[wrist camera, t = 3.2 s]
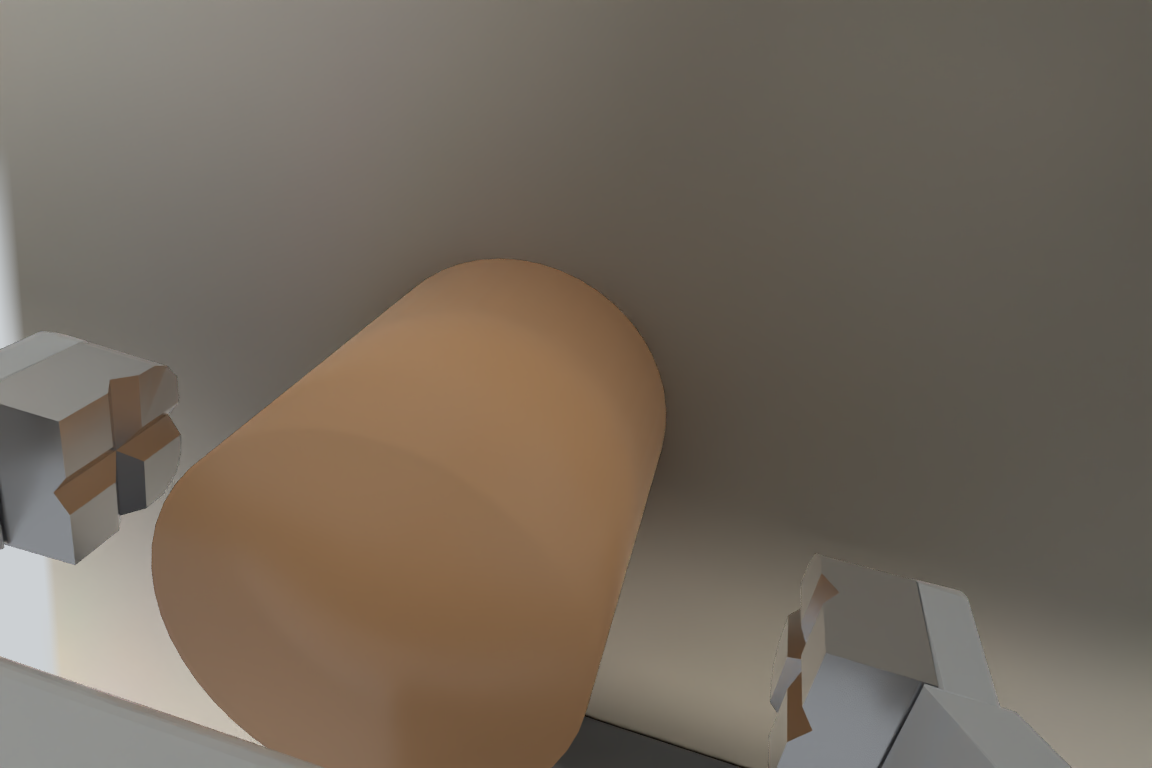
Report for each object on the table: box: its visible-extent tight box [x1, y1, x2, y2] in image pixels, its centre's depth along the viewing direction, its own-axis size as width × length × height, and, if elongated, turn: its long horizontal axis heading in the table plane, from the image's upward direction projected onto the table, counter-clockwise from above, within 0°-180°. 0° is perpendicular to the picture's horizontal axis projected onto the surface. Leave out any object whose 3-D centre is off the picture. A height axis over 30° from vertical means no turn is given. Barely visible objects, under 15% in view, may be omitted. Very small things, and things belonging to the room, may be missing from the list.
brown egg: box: [151, 258, 666, 768], centre depth 9 cm, size 4×4×4 cm
